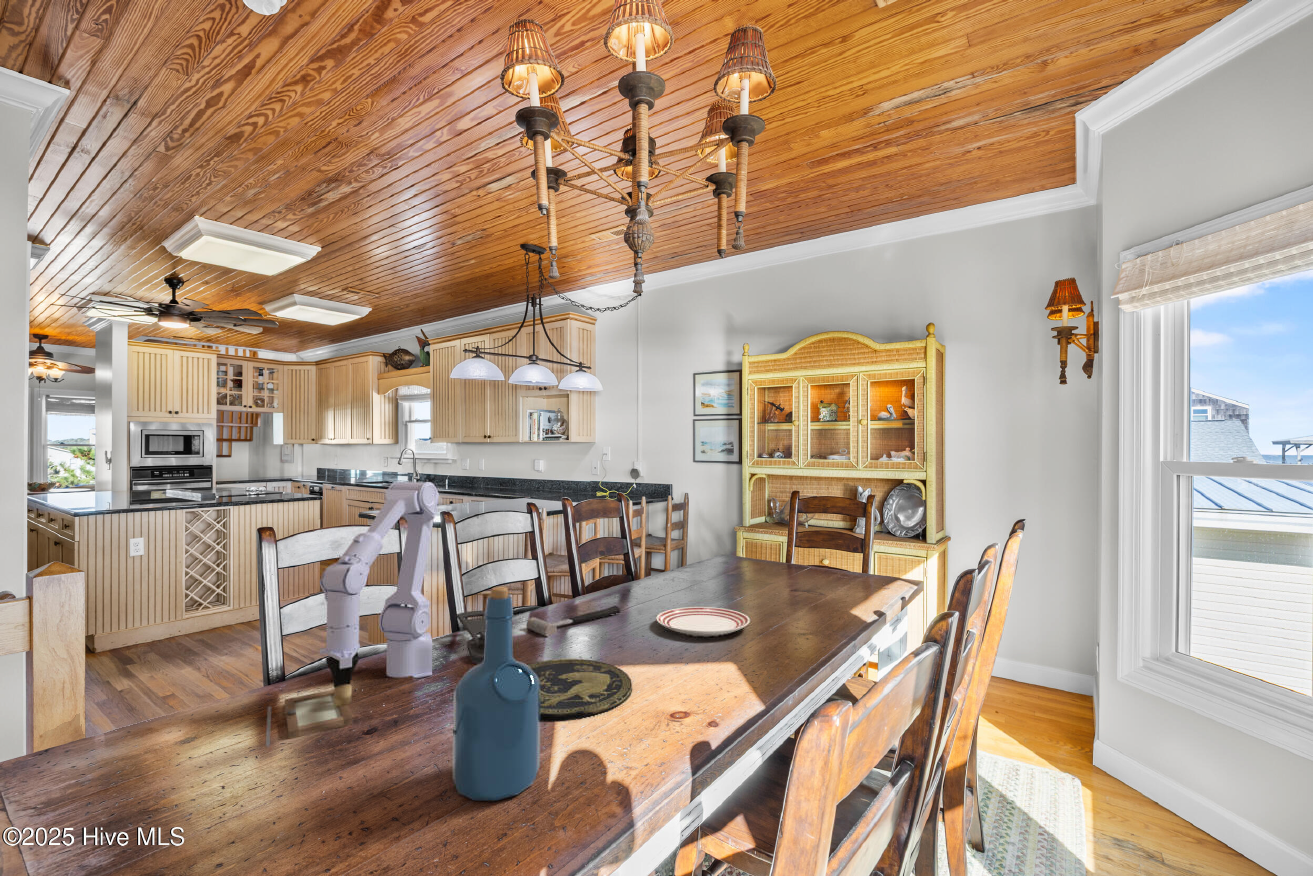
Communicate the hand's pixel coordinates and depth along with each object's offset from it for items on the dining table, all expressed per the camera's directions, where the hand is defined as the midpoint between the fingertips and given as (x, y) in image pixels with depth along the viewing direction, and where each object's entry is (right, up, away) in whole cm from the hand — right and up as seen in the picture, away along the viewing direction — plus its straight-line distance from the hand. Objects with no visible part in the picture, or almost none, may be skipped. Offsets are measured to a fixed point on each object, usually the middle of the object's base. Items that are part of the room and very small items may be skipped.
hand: (341, 693), depth 116 cm
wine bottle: (+38, -3, -24) cm, 45 cm away
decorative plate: (+42, -4, +11) cm, 44 cm away
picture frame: (-2, -2, -4) cm, 5 cm away
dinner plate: (+76, -6, +56) cm, 95 cm away
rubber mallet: (+39, -6, +59) cm, 71 cm away
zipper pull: (+17, -4, +37) cm, 40 cm away
